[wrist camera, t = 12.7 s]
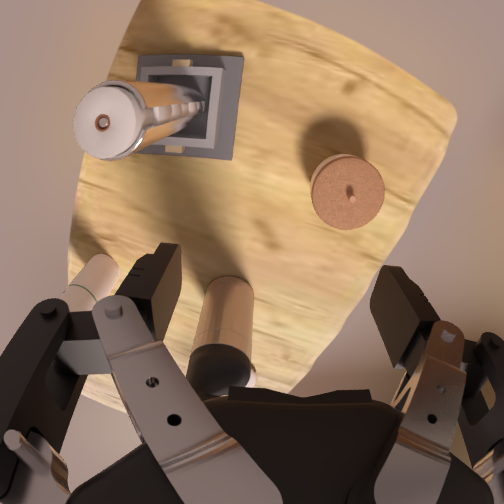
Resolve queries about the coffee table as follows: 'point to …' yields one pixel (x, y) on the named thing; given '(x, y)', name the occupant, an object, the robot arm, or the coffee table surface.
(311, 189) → the lidded jar
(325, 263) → the coffee table surface
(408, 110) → the coffee table surface
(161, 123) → the silver metal cylinder
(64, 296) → the cylindrical container
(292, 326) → the coffee table surface
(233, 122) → the socket
